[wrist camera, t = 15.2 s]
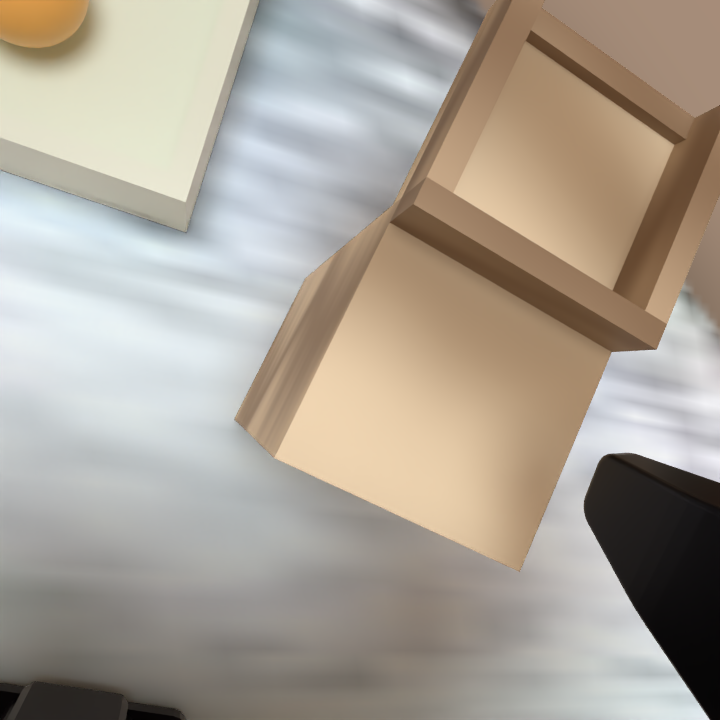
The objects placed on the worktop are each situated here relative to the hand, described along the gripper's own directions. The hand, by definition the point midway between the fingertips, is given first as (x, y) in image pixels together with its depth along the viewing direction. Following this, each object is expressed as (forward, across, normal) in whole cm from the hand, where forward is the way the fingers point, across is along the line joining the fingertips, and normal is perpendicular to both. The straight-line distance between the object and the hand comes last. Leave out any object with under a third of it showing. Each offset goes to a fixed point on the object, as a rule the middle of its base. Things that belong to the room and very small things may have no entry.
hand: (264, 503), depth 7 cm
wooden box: (+12, +5, -4) cm, 14 cm away
